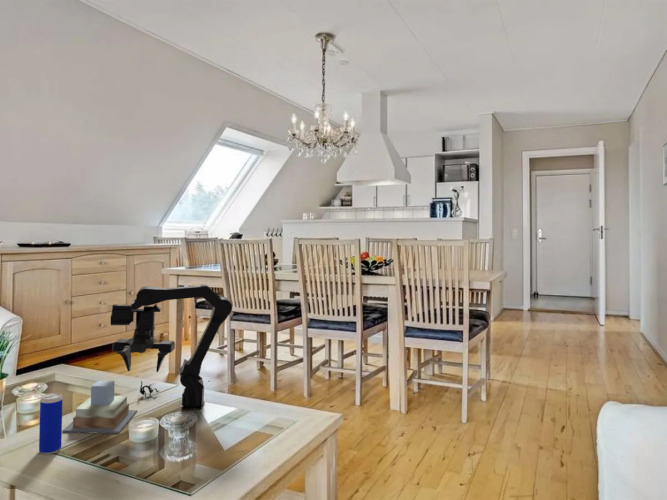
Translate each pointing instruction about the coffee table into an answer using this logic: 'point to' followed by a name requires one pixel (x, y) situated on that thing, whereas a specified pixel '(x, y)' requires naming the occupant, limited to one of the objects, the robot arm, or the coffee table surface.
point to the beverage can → (50, 423)
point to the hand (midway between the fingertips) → (143, 371)
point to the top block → (102, 393)
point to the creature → (148, 388)
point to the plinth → (100, 420)
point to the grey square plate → (102, 430)
